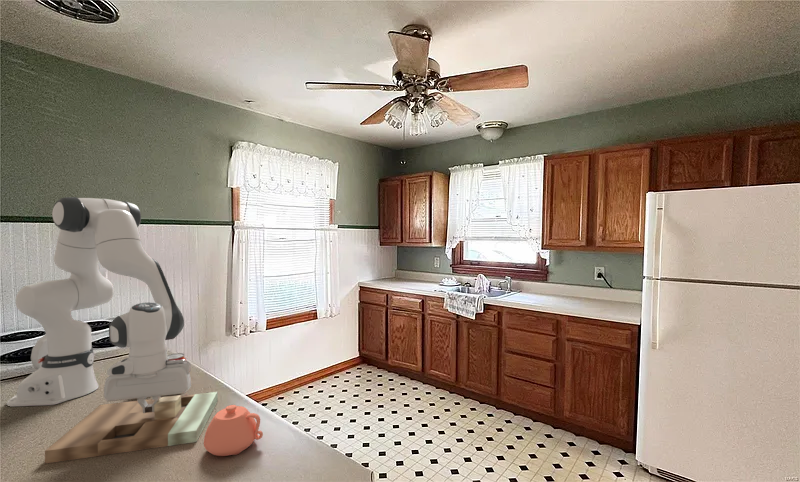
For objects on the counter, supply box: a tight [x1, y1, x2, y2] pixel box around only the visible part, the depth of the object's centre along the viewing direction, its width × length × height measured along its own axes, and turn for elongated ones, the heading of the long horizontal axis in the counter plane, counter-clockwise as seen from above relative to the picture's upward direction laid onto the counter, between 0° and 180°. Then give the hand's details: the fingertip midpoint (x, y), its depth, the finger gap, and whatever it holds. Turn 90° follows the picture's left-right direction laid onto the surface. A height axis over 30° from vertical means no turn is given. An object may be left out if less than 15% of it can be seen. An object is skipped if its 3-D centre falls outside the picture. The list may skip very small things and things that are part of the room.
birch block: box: [154, 394, 182, 419], centre depth 102 cm, size 5×5×4 cm
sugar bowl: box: [203, 404, 264, 457], centre depth 91 cm, size 12×14×10 cm
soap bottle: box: [30, 333, 48, 370], centre depth 148 cm, size 16×5×20 cm, turn 158°
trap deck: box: [44, 391, 219, 464], centre depth 101 cm, size 32×24×3 cm
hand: (149, 411), depth 101 cm, fingers closed
